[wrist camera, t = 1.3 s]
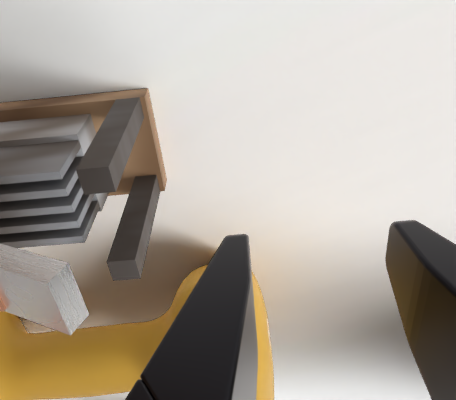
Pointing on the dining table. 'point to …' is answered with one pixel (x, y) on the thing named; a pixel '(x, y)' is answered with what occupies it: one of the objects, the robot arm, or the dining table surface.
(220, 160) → the dining table surface
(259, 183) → the dining table surface
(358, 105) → the dining table surface
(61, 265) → the grey bar
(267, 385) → the dumbbell
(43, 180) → the grey and tan frame
